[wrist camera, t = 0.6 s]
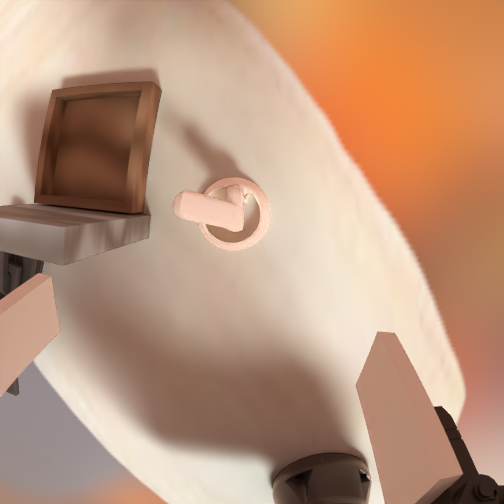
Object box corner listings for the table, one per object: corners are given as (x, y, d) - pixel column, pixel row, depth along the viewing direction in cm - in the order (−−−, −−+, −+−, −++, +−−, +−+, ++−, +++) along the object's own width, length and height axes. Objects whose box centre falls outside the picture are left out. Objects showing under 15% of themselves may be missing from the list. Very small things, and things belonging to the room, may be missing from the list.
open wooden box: (148, 238, 34) (63, 265, 18) (42, 222, 34) (-51, 237, 19) (169, 90, 31) (104, 23, 15) (60, 96, 32) (-24, 62, 16)
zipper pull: (-19, 374, 32) (-24, 216, 28) (5, 358, 39) (8, 213, 35) (19, 402, 32) (15, 235, 28) (42, 382, 39) (49, 229, 35)
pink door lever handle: (140, 165, 28) (188, 143, 23) (226, 188, 37) (276, 178, 33) (134, 245, 27) (183, 240, 23) (225, 252, 36) (276, 249, 32)
